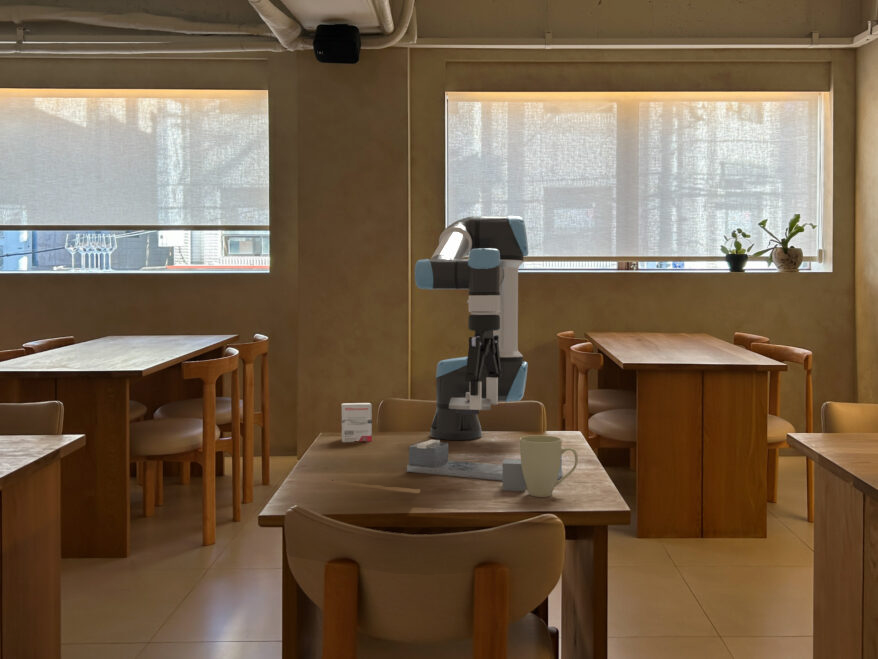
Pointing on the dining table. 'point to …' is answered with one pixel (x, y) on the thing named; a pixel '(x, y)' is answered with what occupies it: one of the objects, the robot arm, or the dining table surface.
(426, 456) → the rail
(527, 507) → the dining table surface
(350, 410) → the ink box
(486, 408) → the grey cover with knob
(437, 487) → the dining table surface
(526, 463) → the mug
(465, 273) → the robot arm
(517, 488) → the block
